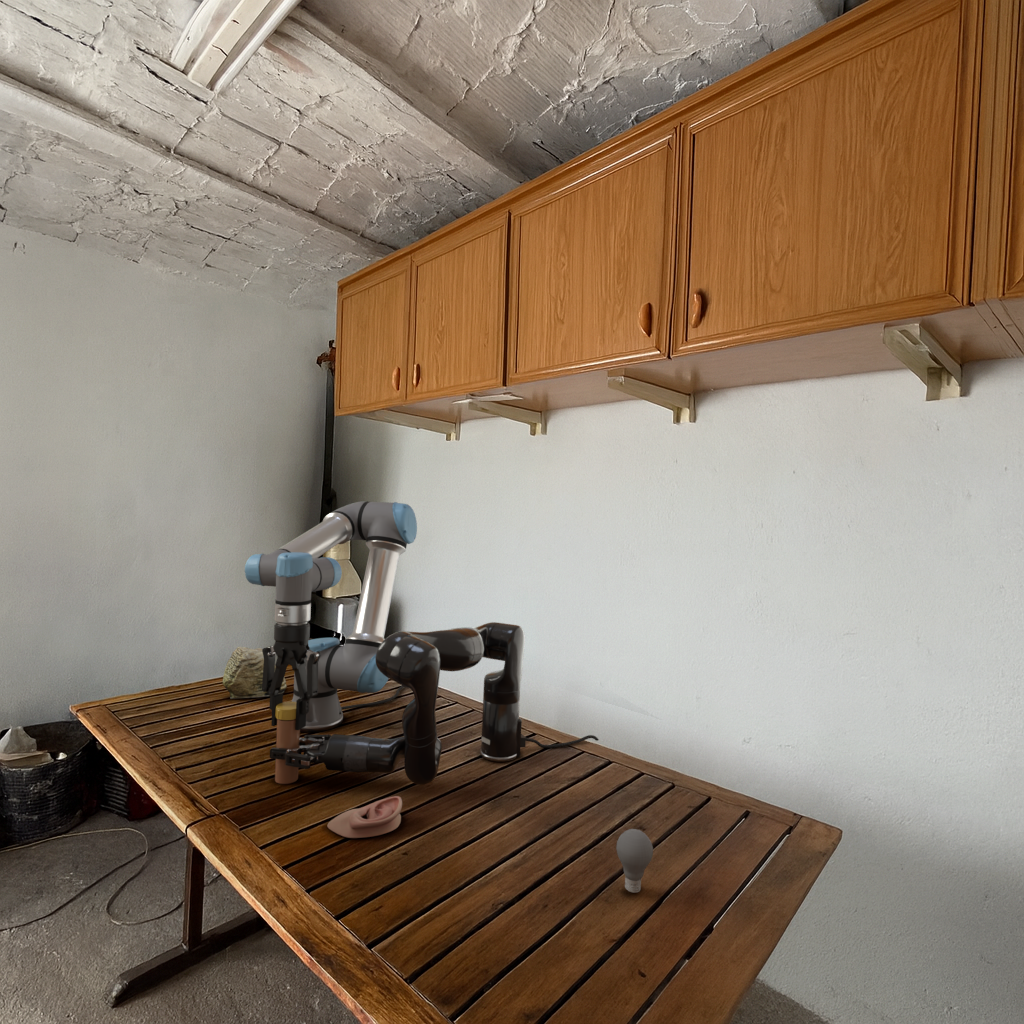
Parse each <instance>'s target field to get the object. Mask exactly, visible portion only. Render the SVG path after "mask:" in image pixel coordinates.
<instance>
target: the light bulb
mask: <svg viewBox="0 0 1024 1024" xmlns="http://www.w3.org/2000/svg"><path fill="white" fill-rule="evenodd" d="M615 849H616V854H617V857H618V859H619V861H620V863H621V865H622V867H623V873H624V874H623V875H624V876H625V878H624V888H625V890H627V891H628V892H630V893H634V894H635V893H639V892H640V891H641V889H642V887H641V886H642V879H643V877H644V875H645V871H646V868H647V867H648V866H649V864H650V863H651V861H652V859H653V855H654V847H653V843H652V841H651V838H649V836H648V835H647V834H646V833H645V832H643V831H642V830H641V829H636V828H629V829H627V830H625V831H623V832H622V833H621V834H620V835H619V837H618V839H617V841H616V847H615Z"/></svg>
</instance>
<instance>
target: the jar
mask: <svg viewBox="0 0 1024 1024" xmlns="http://www.w3.org/2000/svg"><path fill="white" fill-rule="evenodd" d="M295 726H296V719H294V720H280V719H277V725H276V736H275V737H276V738H275V748H287V749H293V748H298V747H299V743H300V738H301V731H300V730H295ZM296 753H297V752H296ZM297 754H298V753H297ZM285 762H286V760H282V759H275V763H274V765H275V766H274V768H275V769H274V782H275V783H277V784H280V785H289V784H292V783H295V782H297V780H298V779H299V769H300V768H297V767H292V766H287V765H285Z"/></svg>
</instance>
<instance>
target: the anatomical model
mask: <svg viewBox="0 0 1024 1024" xmlns="http://www.w3.org/2000/svg"><path fill="white" fill-rule="evenodd" d="M402 808H403V799H402V797H401V796H399V795H395V796H389V797H385V798H383V799H379V800H376V801H374V802H372V803H369V804H367V805H365V806H362V807H359V808H353V809H349V810H346V811H344V812H341V813H340V814H338V815H337V816H335V817H334V818H332V819H331V820H330V821H329V822H328V823H327V828H328V829H329V830H330V831H331V832H333V833H335V834H337V835H339V836H340V837H341V836H342V837H344V838H347V839H360V838H370V837H371V838H372V837H377V836H382V835H384V834H387V833H390V832H392V831H394V830H396V829H397V828H398V827H399V826H400V824H401V822H402V815H401V811H402Z"/></svg>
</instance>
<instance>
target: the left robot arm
mask: <svg viewBox="0 0 1024 1024" xmlns="http://www.w3.org/2000/svg"><path fill="white" fill-rule="evenodd" d="M417 535H418V522H417V516H416V513H415V511H414V509H413V508H412V507H411V506H410V505H409V504H407V503H401V502H397V501H394V502H390V501H389V502H387V501H369V500H367V501H366V500H365V501H364V500H362V501H356V502H352V503H348V504H346V505H344V506H341V507H339V508H337V509H335V510H333V511H331V512H329V513H328V514H326V515H325V516H324V517H323V520H322V521H321V522H320V523H318V524H316V525H315V526H313V527H312V528H310V529H308V530H306V531H305V532H303V533H302V534H300V535H299V536H297V537H295V538H293V539H292V540H290V541H289V542H287V543H285V544H283V545H282V546H280V547H279V548H277V549H275V550H273V551H272V552H270V553H267V554H266V553H254V554H252V555H250V556H249V557H248V559H247V560H246V563H245V565H244V576H245V578H246V580H247V582H248V583H250V584H252V585H255V586H256V585H257V586H261V587H275V601H274V602H275V603H274V621H275V622H276V623H274V625H273V640H274V644H273V645H269V646H265V647H263V648H261V649H262V652H263V657H264V665H263V680H262V691H263V692H267V693H269V695H270V696H269V706H268V707H269V710H271V723H270V724H271V725H270V726H271V727H277V718H276V716H275V711H276V706H277V705H278V704H280V703H283V702H284V693H280V694H278V693H279V692H281V691H282V690H280V689H281V686H282V682H283V679H284V677H285V675H286V672H287V669H288V666H291V669H292V671H293V695H292V696H293V697H292V699H291V702H296V726H295V730H300V733H316V732H325V731H329V730H332V729H335V728H337V727H339V726H340V725H342V723H343V722H344V714H343V710H349V709H355V708H364V707H372V706H377V705H382V704H386V703H388V702H391V701H393V700H394V699H396V698H397V697H398V696H399V694H400V691H401V690H402V689H404V688H405V687H404V686H403V685H400V686H399V688H397V690H396V692H395V694H394V695H392V696H391V697H389V698H386V699H383V700H380V701H373V702H366V703H358V704H350V705H343V706H341V702H340V699H339V695H338V690H342V691H350V692H358V693H362V694H363V693H369V694H374V693H378V692H380V691H381V690H382V689H383V688H384V687H385V685H386V684H387V683H388V681H389V679H390V678H388V677H386V676H385V675H384V674H382V673H381V672H380V671H379V669H378V668H377V665H376V661H375V656H376V652H377V650H378V647H379V646H380V644H381V643H382V642H383V641H384V640H385V639H386V638H385V634H386V629H387V623H388V618H389V613H390V607H391V602H392V597H393V591H394V587H395V581H396V576H397V571H398V565H399V559H400V556H401V555H403V554H404V553H405V552H406V551H407V546H408V545H410V544H413V543H414V542H415V540H416V538H417ZM349 541H365V545H366V547H367V548H368V550H369V553H368V557H367V562H366V567H365V572H364V577H363V581H362V586H361V591H360V595H359V601H358V607H357V611H356V615H355V620H354V625H353V630H352V633H351V634H350V635H348V636H347V637H346V638H345V642H344V645H341V641H340V639H339V638H338V637H318V638H313V639H310V635H311V624H310V622H309V621H311V613H312V612H311V611H312V610H311V609H312V608H311V607H312V593H314V592H318V591H319V592H320V591H326V590H329V589H330V588H333V587H335V586H336V585H337V584H339V582H340V581H341V579H342V575H343V570H342V566H341V564H340V563H339V561H337V560H336V559H335V558H333V557H328V556H327V557H326V556H325V557H324V556H322V555H324V554H325V553H327V552H328V551H330V550H331V549H333V548H335V547H336V546H337V545H344V544H346V543H348V542H349ZM276 657H277V658H276ZM275 666H276V669H275ZM274 670H275V672H274Z"/></svg>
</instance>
